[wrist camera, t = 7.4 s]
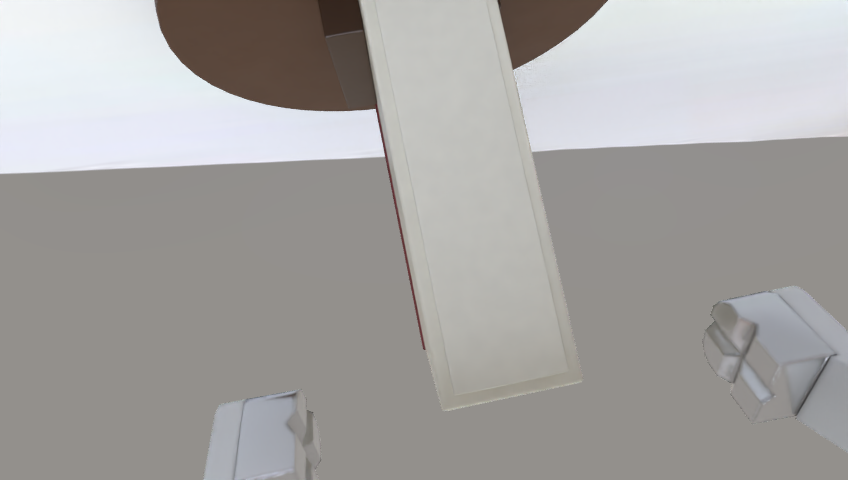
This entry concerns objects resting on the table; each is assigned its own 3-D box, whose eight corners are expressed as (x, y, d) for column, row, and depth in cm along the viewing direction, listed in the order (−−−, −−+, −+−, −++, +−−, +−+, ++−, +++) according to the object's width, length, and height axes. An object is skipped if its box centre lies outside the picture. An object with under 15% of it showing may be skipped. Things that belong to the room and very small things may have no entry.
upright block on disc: (2, -149, 11) (86, 506, 9) (758, -269, 11) (935, 324, 10) (247, 118, 27) (291, 374, 25) (556, 62, 27) (614, 308, 26)
